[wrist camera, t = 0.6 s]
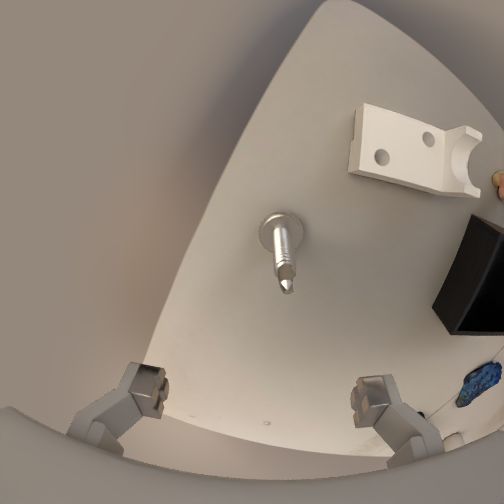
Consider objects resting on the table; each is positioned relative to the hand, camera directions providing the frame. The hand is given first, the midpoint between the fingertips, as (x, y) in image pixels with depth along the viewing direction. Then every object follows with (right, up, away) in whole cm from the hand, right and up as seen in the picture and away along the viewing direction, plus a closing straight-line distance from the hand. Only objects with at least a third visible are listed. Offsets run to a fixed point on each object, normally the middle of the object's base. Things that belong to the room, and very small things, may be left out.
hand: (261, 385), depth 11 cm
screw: (+3, +8, +22) cm, 24 cm away
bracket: (+17, +17, +17) cm, 30 cm away
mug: (+69, -59, +51) cm, 104 cm away
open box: (+36, +2, +23) cm, 43 cm away
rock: (+56, -27, +36) cm, 72 cm away
